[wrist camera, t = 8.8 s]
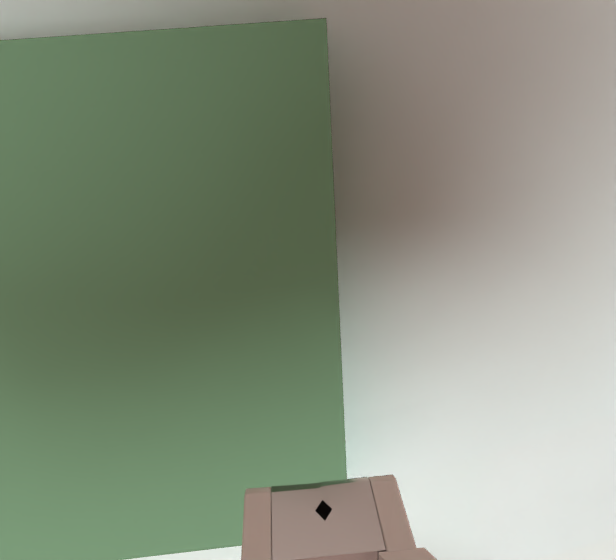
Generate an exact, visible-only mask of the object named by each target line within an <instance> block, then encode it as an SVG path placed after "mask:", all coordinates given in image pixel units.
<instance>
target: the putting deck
mask: <svg viewBox="0 0 616 560" xmlns="http://www.w3.org/2000/svg"><path fill="white" fill-rule="evenodd" d="M343 479H347V473H346V451H345V428H344V406H343V383H342V361H341V338H340V316H339V293H338V271H337V248H336V226H335V203H334V181H333V158H332V136H331V113H330V91H329V68H328V46H327V23H326V18H321V19H306V20H292V21H277V22H262V23H248V24H233V25H218V26H204V27H189V28H174V29H160V30H145V31H130V32H116V33H101V34H86V35H72V36H57V37H42V38H28V39H13V40H0V560H123V559H132V558H140V557H148V556H157V555H165V554H174V553H182V552H191V551H199V550H208V549H216V548H224V547H233V546H241V545H242V535H243V514H244V495H245V491H246V489H248V488H260V487H271V488H272V486H283V485H297V484H311V483H320V482H325V481H334V480H343Z"/></svg>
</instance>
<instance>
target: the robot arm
mask: <svg viewBox="0 0 616 560" xmlns="http://www.w3.org/2000/svg"><path fill="white" fill-rule="evenodd" d="M241 560H437V559H436V558H435V557H434V556H433V555H432V554H431V553H429V552H428V551H427V550H426V549H425V548H416V545H415V541H414V538H413V535H412V531H411V528H410V525H409V521H408V518H407V515H406V511H405V508H404V505H403V501H402V498H401V495H400V491H399V488H398V484H397V481H396V478H395V477H394V476H393V475H384V476H374V477H361V478H352V479H343V480H334V481H325V482H320V483H311V484H297V485H283V486H272V488H271V487H260V488H248V489H246V491H245V495H244V514H243V535H242V556H241Z"/></svg>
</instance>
